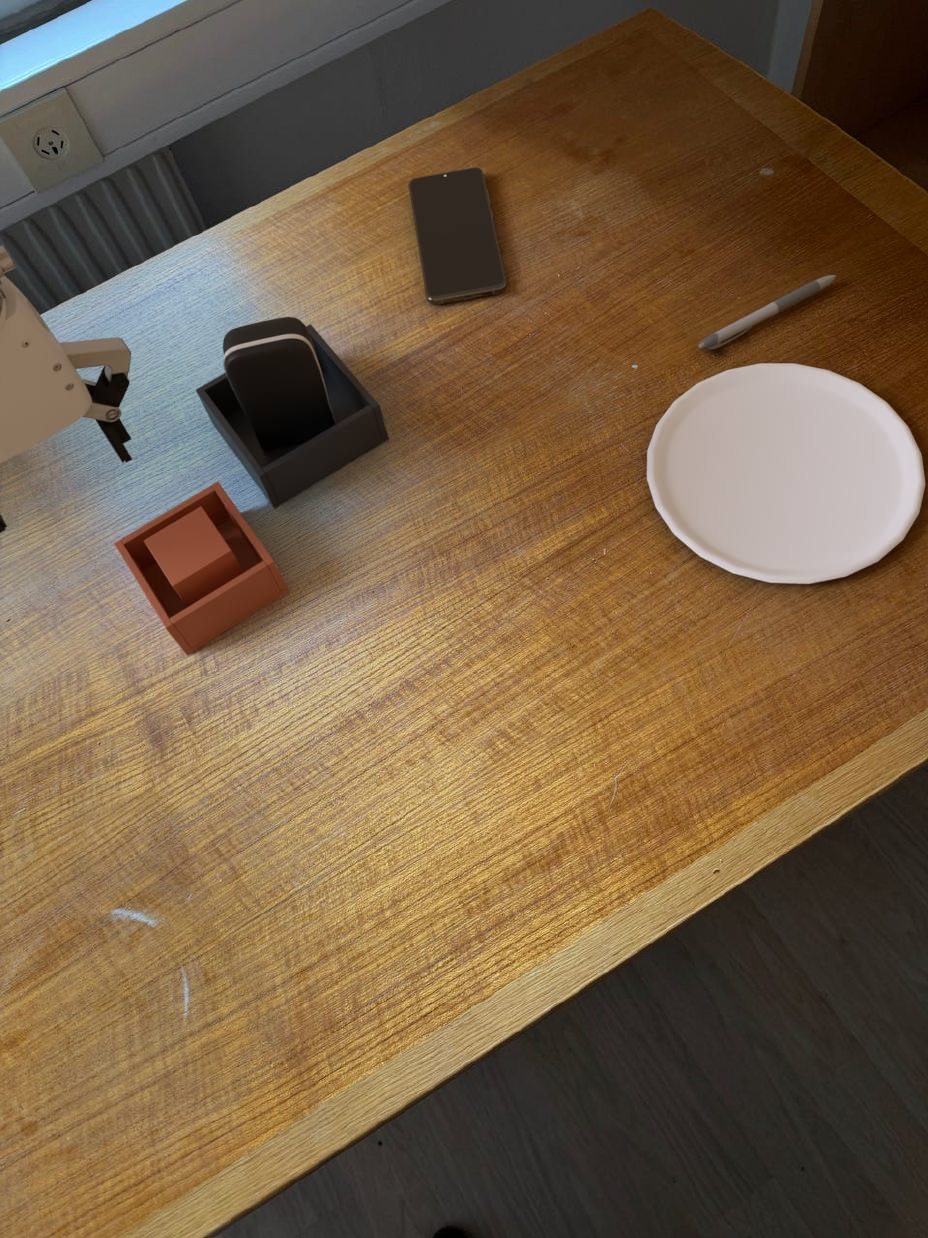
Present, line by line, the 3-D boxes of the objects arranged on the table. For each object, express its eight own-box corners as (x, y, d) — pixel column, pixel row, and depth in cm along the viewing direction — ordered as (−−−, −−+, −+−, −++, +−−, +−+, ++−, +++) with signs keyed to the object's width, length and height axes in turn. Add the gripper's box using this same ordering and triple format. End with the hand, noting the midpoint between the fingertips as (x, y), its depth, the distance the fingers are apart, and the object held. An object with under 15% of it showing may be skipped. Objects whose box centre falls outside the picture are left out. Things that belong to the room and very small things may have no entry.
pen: (694, 350, 88) (696, 338, 86) (830, 280, 90) (833, 267, 88) (701, 358, 87) (703, 346, 86) (837, 287, 89) (841, 274, 88)
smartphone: (426, 301, 92) (407, 177, 99) (428, 309, 93) (408, 187, 100) (508, 286, 92) (482, 164, 99) (509, 295, 93) (483, 173, 100)
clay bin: (186, 655, 79) (165, 628, 75) (136, 572, 83) (113, 543, 79) (289, 590, 81) (274, 561, 77) (235, 513, 85) (217, 481, 81)
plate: (762, 641, 74) (764, 633, 73) (593, 451, 84) (593, 442, 83) (982, 498, 78) (987, 488, 77) (796, 332, 87) (799, 321, 86)
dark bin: (274, 509, 84) (259, 476, 81) (212, 423, 89) (194, 389, 85) (389, 439, 87) (379, 404, 83) (322, 359, 91) (310, 323, 88)
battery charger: (335, 401, 88) (303, 302, 78) (341, 435, 87) (309, 339, 77) (255, 418, 88) (213, 322, 78) (259, 453, 87) (216, 360, 77)
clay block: (195, 618, 80) (172, 586, 75) (167, 573, 82) (143, 540, 78) (251, 583, 81) (231, 550, 76) (221, 540, 83) (201, 505, 79)
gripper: (43, 199, 61) (145, 390, 76) (-239, 338, 58) (-74, 509, 73) (95, 272, 58) (190, 456, 73) (-200, 423, 55) (-36, 584, 70)
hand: (59, 482), depth 73 cm, fingers open, 9 cm apart
